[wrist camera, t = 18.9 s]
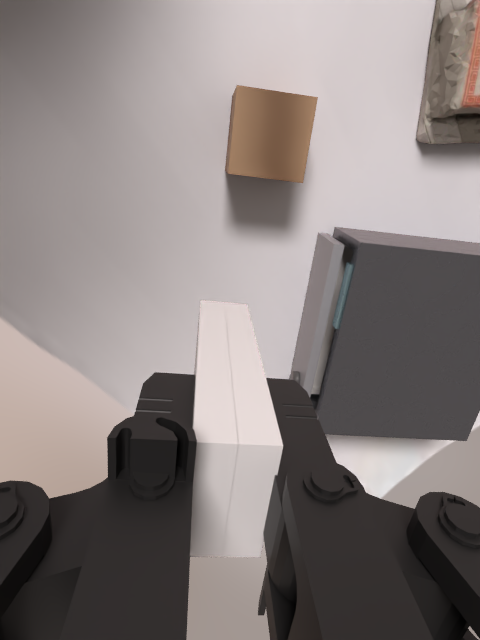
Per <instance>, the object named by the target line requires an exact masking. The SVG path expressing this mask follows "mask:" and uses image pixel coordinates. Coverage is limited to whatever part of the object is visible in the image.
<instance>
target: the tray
mask: <svg viewBox="0 0 480 640" xmlns="http://www.w3.org/2000/svg"><path fill="white" fill-rule="evenodd" d="M352 254H353V250H352V249H350V248H349V247H347V246H346V245H344V244H343V243H341V242H339V241H338V240H336V239H335V238H333V237H332V236H330V235H329V234H326V233H318V237H317V242H316V247H315V252H314V257H313V263H312V268H311V273H310V278H309V283H308V288H307V293H306V298H305V303H304V308H303V313H302V318H301V323H300V328H299V333H298V339H297V344H296V349H295V354H294V359H293V364H292V369H291V374H290V379H289V380H295V381H296V382H297V383H298V384H299V385H301V386H302V387H303V388H304V389H305V390H306V391H307V392H308V395H309V397H310V396H311V394H319V393H320V389H321V385H322V381H323V377H324V372H325V368H326V364H327V360H328V355H329V351H330V347H331V343H332V338H333V334H334V330H335V328H334V326H333V325H332V323H333V319H334V314H335V310H336V306H337V301H338V297H339V293H340V289H341V284H342V280H343V276H344V271H345V267H346V263H347V262H351V258H352Z"/></svg>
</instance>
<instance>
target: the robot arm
mask: <svg viewBox="0 0 480 640" xmlns="http://www.w3.org/2000/svg"><path fill="white" fill-rule="evenodd" d="M107 441H108V478H106V479H105V480H104V481H103V482H101V483H99V484H97V485H95V486H93V487H91V488H89V489H86V490H83V491H80V492H76V493H72V494H68V495H63V496H59V497H54V498H50V499H49V498H48V496H47V495H46V493H45V492H44V490H43V489H42V488H41V487H39V486H36V485H34V484H32V483H30V482H23V481H7V482H2V483H0V640H186V632H187V611H188V588H189V586H188V585H189V565H190V564H189V563H190V557H260V556H261V552H262V547H263V542H265V549H266V556H267V568H266V572H265V577H264V581H263V586H262V590H261V595H260V600H259V608H258V615H264V613H265V609H267V617H268V625H269V633H270V640H478V639H477V638H476V637H475V636H474V635H473V634H472V633H471V632H470V631H469V629H468V627H469V626H471V628H472V629H473V630H474V631H475V633H476V634H477V636H478V637H479V638H480V508H479V507H478V506H477V505H474V504H473V503H471V502H469V501H467V500H465V499H463V498H461V497H458V496H456V495H452V494H449V493H445V492H429V493H427V494H425V495H423V496H421V497H420V499H419V501H418V503H417V505H416V508H415V509H413V508H409V507H406V506H403V505H399V504H396V503H393V502H389V501H385V500H382V499H380V498H377V497H374V496H372V495H369V494H368V493H366V492H365V490H364V487H363V486H362V485H361V483H360V482H359V480H358V479H357V477H356V476H355V475H354V474H353V473H351V472H350V471H349V470H348V469H346V468H345V467H344V466H342V465H340V464H337V463H336V460H335V458H334V456H333V453H332V451H331V448H330V446H329V443H328V441H327V439H326V436H325V434H324V431H323V429H322V426H321V424H320V422H319V420H317V414H316V412H315V409H314V408H313V405H312V402H311V400H310V397H309V395H308V392H307V391H306V390H305V389H304V388H303V387H302V386H301V385H299V384H298V383H297V382H296V381H295V380H288V379H272V378H266V376H265V372H264V368H263V364H262V360H261V356H260V352H259V348H258V344H257V340H256V337H255V333H254V329H253V325H252V321H251V317H250V313H249V309H248V305H247V304H242V303H230V302H218V301H207V300H200V312H199V323H198V335H197V347H196V359H195V370H194V375H188V374H172V373H156V372H155V373H154V374H153V375H152V376H151V377H150V378H149V379H148V380H146V381H145V382H144V383H143V386H142V390H141V393H140V397H139V400H138V404H137V407H136V412H135V415H134V416H133V417H130V418H127V419H125V420H124V421H122V422H121V423H119V424H118V425H116V426H115V427H114V428H113V430H112V431H111V433H110V434H109V436H108V438H107Z"/></svg>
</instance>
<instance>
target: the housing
mask: <svg viewBox="0 0 480 640" xmlns="http://www.w3.org/2000/svg"><path fill="white" fill-rule="evenodd" d="M333 237H334V238H336V239H337V240H338V241H340V242H341V243H343V244H344V245H346V246H347V247H349V248H350V249H352V250H353V254H352V258H351V262H347V263H346V267H345V271H344V276H343V280H342V284H341V289H340V293H339V297H338V301H337V306H336V310H335V314H334V319H333V323H332V325H333V326H334V328H335V330H334V334H333V338H332V343H331V347H330V351H329V355H328V360H327V364H326V368H325V372H324V377H323V381H322V385H321V389H320V393H319V394H311V396H310V400H311V402H312V405H313V408H314V409H315V412H316V414H317V420H319V422H320V424H321V426H322V429H323V431H324V434H333V435H354V436H375V437H396V438H416V439H437V440H458V441H467V439H468V436H469V434H470V432H471V429H472V427H473V425H474V422H475V420H476V418H477V416H478V413H479V411H480V243H472V242H463V241H455V240H446V239H437V238H428V237H419V236H410V235H401V234H392V233H383V232H375V231H366V230H357V229H348V228H339V227H335V229H334V234H333Z"/></svg>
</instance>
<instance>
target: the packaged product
mask: <svg viewBox="0 0 480 640" xmlns="http://www.w3.org/2000/svg"><path fill="white" fill-rule="evenodd" d="M417 140H418V141H419V142H424V143H428V144H450V143H480V0H437V1H436V7H435V14H434V21H433V27H432V34H431V40H430V47H429V53H428V60H427V67H426V77H425V84H424V90H423V96H422V102H421V110H420V117H419V124H418V131H417Z"/></svg>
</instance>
